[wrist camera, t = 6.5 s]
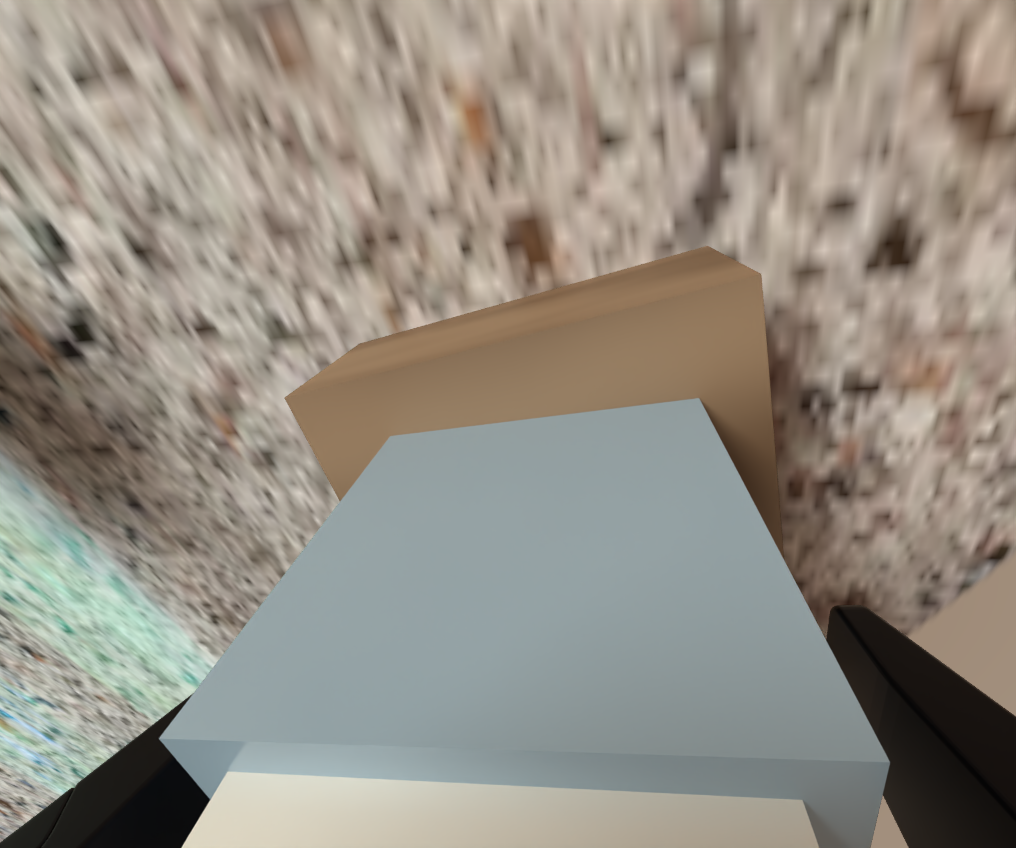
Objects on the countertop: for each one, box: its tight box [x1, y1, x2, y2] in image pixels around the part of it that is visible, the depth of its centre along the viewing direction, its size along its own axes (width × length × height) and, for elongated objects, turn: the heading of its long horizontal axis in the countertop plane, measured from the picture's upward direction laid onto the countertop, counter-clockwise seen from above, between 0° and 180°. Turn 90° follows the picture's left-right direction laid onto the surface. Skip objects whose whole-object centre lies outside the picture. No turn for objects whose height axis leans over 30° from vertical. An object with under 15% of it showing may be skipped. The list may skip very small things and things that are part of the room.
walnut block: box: [285, 246, 784, 559], centre depth 12 cm, size 9×9×4 cm
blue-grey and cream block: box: [159, 398, 890, 848], centre depth 7 cm, size 6×6×7 cm
